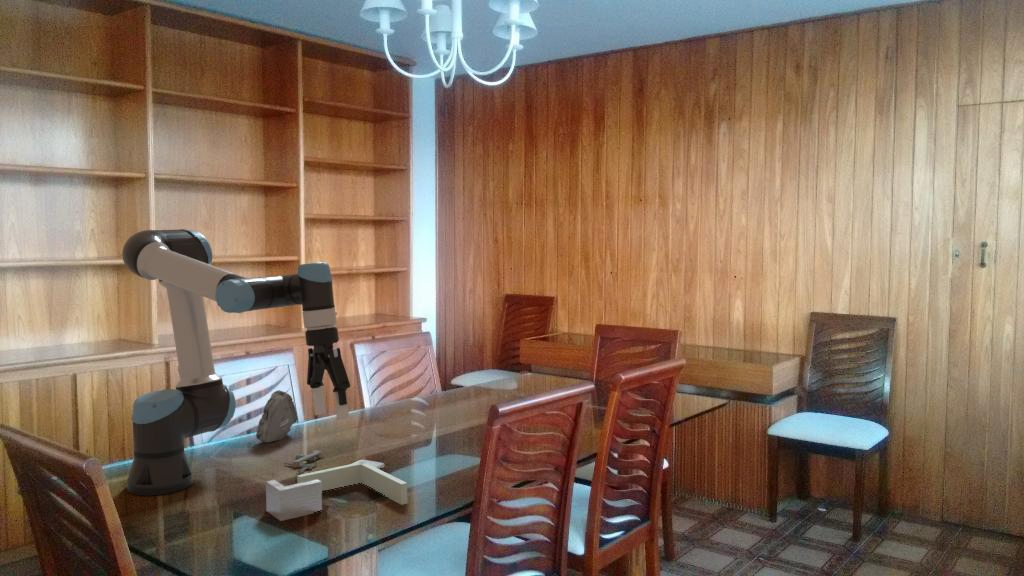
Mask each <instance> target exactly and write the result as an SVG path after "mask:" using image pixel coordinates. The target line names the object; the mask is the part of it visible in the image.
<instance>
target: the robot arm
mask: <svg viewBox="0 0 1024 576" xmlns="http://www.w3.org/2000/svg"><path fill="white" fill-rule="evenodd" d="M121 255H122V257H121V258H122V262H123V263H124V266H125V267H126V268H127V269H128V270H129V271H130V272H131V273H132V274H133V275H136V276H138V277H140V278H143V279H146V280H149V281H154V280H155V281H156V280H158V282H159V284H160V285H161V286H162V287H164V288H165V289H166V293H167V300H168V301H167V302H168V306H169V311H170V319H171V325H172V333H173V338H174V345H175V351H176V357H177V364H178V365H177V366H178V368H179V369H178V370H179V375H180V379H179V381H178V382H177V383H176V385H175V388H173V389H172V388H167V389H162V390H155V391H151V392H147V393H145V394H142V395H140V396H139V397H137V398H136V399H135V400H134V401H133V403H132V411H131V412H132V414H131V421H132V440H133V444H132V445H133V460H132V463H131V467H130V470H129V474H128V477H127V480H126V488H127V489H126V490H127V492H129V493H130V494H131V495H136V496H159V495H161V496H162V495H167V494H173V493H177V492H180V491H182V490H185V489H187V488H189V487H190V486H191V485H192V484H193V483H194V479H193V471H192V469H191V466H190V464H189V461H188V458H187V456H186V453H185V439H188V438H192V437H195V436H199V435H201V434H205V433H210V432H214V431H217V430H218V429H222V428H224V427H226V426H227V425H228V424H229V423H230V422H231V420H233V418H234V416H235V415H234V414H235V411H236V408H237V407H236V406H237V405H236V404H237V403H236V402H237V401H236V397H235V394H234V392H233V390H231V388H230V387H229V385H227V384H224V382H223V377H221V376H220V375H218V374H217V373H216V370H215V364H214V363H215V362H214V358H213V357H214V356H213V351H212V346H211V345H212V344H211V339H210V333H209V332H210V331H209V325H208V321H207V313H206V308H205V306H206V305H205V300H204V298H207V299H209V300H211V301H215V302H216V303H217V306H218V307H219V308H220V310H221V311H223V312H225V313H228V314H229V313H230V314H231V313H232V314H233V313H234V314H235V313H236V314H241V313H245V312H251V311H258V310H260V311H261V310H268V309H274V308H276V309H277V308H284V307H289V306H290V307H293V306H298V305H301V309H302V310H301V311H302V312H301V313H302V320H303V327H304V328H305V329H306V330H305V331H304V335H305V342H306V343H305V344H306V346H308V347H309V348H307V353H308V359H307V376H306V377H307V378H306V385H308V386H309V387H310V389H311V393H312V404H313V413H314V416H318V415H319V416H320V415H324V414H327V407H326V399H325V390H324V383H323V379H324V374H325V370H326V372H327V374H328V376H329V379H330V381H331V383H332V387H333V389H332V392H333V398H334V404H335V413H336V414H335V415H336V420H337V421H342V420H346V419H350V413H349V404H348V395H347V390H348V389H349V388H350V387H351V383H350V380H349V377H348V374H347V370H346V368H345V364H344V361H343V357H342V354H341V348H340V347H334V345H333V344H337V343H338V342H339V339H340V338H339V329H338V327H337V326H335V325H337V315H338V312H337V311H336V308H335V300H334V288H333V287H334V286H333V278H332V272H331V267H330V265H329V263H327V262H325V261H317V262H311V263H310V262H309V263H301V264H299V265H298V266H297V272H296V273H294V274H283V275H273V276H258V277H245V276H242V275H239V274H237V273H234V272H231V271H228V270H226V269H223V268H221V267H218V266H214V265H212V262H213V249H212V247H211V243H210V242H209V241H208V239H207V238H206V236H205V235H203V234H202V233H201V232H199V231H197V230H192V229H185V228H181V229H180V228H179V229H146V230H141V231H138V232H136V233H133V234H132V235H131V236H130V237H129V238H128V239H127V240H126V241H125V243H124V245H123V247H122V253H121Z"/></svg>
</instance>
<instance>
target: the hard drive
mask: <svg viewBox="0 0 1024 576" xmlns="http://www.w3.org/2000/svg"><path fill="white" fill-rule="evenodd" d="M359 462H365V463H367V464H369V465H371V466H373V467H376V468H378V469H380V468H381V469H383V468H385V463H384V462H379V461H374V460H366V459H359V460H356V461H354V462H352V463H351V464H354V463H359ZM381 469H380V470H381Z"/></svg>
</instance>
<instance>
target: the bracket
mask: <svg viewBox="0 0 1024 576" xmlns="http://www.w3.org/2000/svg"><path fill="white" fill-rule="evenodd" d="M265 496H266V497H265V502H266V503H265V505H266V506H265V507H266V512H267V513H269V515H272V516H273V517H274V518H275V519H277V520H278V521H279V522H283V521H286V520H291V519H295V518H296V519H297V518H299V517H303V516H308V515H312V514H315V513H314V512H316V513H318V512H317V511H320V510H322V511H323V492H322V481H320V480H318V479H317V480H312V481H308V482H303V483H299V484H297V483H294V484H290V485H283V484H282V483H280V482H279V481H277V480H275V479H272V480H266V481H265ZM320 512H321V511H320Z"/></svg>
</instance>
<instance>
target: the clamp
mask: <svg viewBox="0 0 1024 576" xmlns="http://www.w3.org/2000/svg"><path fill="white" fill-rule="evenodd" d="M317 458H320V459H322V458H324V452H323V451H322V450H318V449H314V450H311V451H310V453H309V454H306V455H305V454H303V453H297V454H295V460H293V461H292V462H290V461H289V462H288V461H287V462H286V461H285V462H284V465H288V466H293V468H294V467H298V468H297V473H299V474H300V473H301V472H303V471H305V470H310V469H311V470H312V469H313V467H317V466H318V463H317V462H316V461H317V460H318V459H317ZM316 459H317V460H316ZM306 460H307V461H309V462H314V463H313V464H309V463H307V464H302V462H304V461H306ZM299 468H300V469H299Z"/></svg>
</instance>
